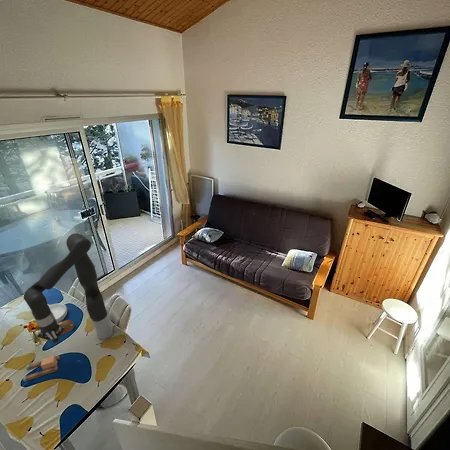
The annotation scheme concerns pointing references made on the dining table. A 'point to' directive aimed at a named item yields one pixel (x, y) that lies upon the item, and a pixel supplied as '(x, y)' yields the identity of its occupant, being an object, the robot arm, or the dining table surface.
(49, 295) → the dining table surface
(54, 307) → the cereal bowl
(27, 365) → the pair of brown rods
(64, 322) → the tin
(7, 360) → the dining table surface
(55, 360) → the block
